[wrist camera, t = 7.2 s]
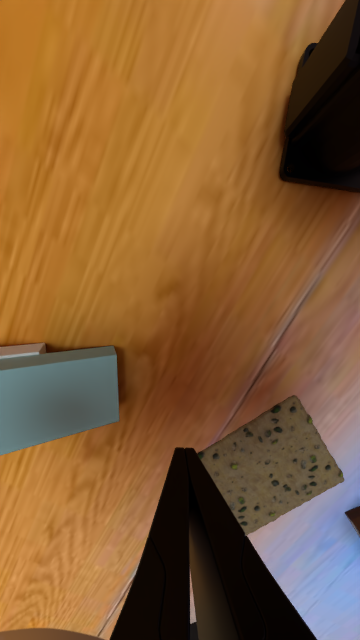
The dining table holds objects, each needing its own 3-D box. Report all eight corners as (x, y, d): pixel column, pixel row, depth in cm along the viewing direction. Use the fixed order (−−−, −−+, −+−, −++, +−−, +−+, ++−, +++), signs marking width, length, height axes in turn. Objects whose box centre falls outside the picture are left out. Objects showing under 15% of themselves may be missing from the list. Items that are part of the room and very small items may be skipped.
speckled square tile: (242, 532, 19) (246, 545, 18) (178, 459, 17) (179, 470, 16) (342, 475, 19) (351, 485, 18) (292, 389, 16) (300, 396, 15)
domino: (116, 354, 12) (-100, 384, 8) (119, 420, 13) (-71, 475, 9) (113, 345, 14) (-69, 366, 10) (115, 405, 15) (-47, 446, 11)
